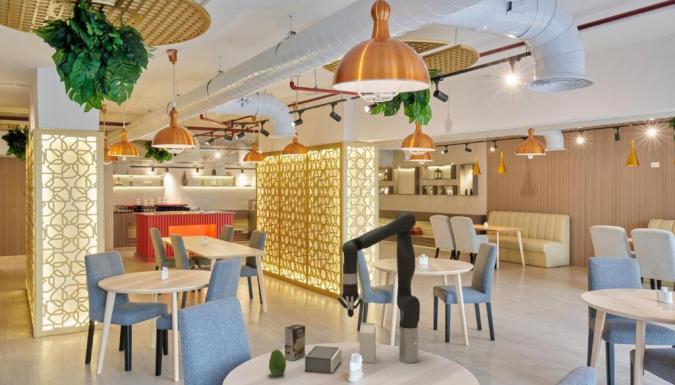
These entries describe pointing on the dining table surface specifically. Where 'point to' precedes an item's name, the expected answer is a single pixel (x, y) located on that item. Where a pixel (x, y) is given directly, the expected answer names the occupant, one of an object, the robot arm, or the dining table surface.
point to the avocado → (277, 363)
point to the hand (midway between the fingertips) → (350, 316)
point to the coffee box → (294, 342)
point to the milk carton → (368, 342)
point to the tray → (335, 360)
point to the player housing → (319, 359)
